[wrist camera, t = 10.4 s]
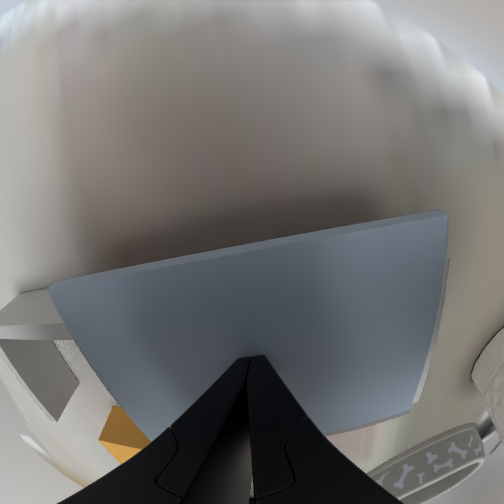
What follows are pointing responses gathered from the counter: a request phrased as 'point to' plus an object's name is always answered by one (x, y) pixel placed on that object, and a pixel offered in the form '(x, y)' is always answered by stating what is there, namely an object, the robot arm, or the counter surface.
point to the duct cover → (269, 321)
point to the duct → (53, 328)
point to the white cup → (492, 380)
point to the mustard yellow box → (122, 436)
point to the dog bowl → (432, 465)
